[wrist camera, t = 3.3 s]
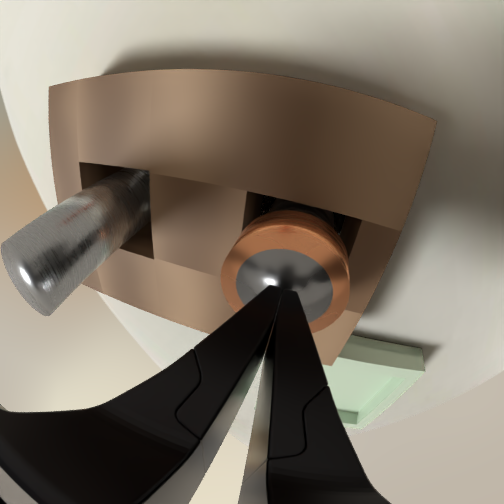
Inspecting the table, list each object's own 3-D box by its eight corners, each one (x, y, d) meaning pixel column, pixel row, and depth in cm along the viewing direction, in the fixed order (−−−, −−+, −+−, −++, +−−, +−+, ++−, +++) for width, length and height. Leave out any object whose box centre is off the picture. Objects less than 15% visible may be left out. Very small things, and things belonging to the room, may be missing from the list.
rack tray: (421, 348, 15) (425, 371, 14) (362, 411, 21) (361, 429, 19) (283, 318, 17) (277, 343, 15) (259, 390, 22) (254, 409, 21)
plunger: (355, 191, 11) (369, 253, 7) (331, 266, 13) (326, 346, 9) (264, 169, 12) (225, 217, 7) (252, 246, 14) (217, 317, 10)
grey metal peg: (178, 160, 13) (32, 255, 6) (177, 213, 15) (62, 328, 7) (132, 154, 13) (-7, 233, 6) (134, 203, 15) (18, 297, 8)
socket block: (407, 113, 9) (437, 120, 6) (334, 319, 16) (331, 366, 13) (95, 79, 11) (48, 86, 8) (108, 253, 18) (77, 281, 15)
